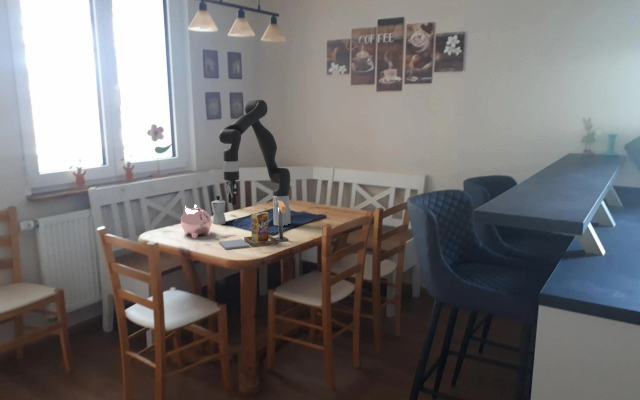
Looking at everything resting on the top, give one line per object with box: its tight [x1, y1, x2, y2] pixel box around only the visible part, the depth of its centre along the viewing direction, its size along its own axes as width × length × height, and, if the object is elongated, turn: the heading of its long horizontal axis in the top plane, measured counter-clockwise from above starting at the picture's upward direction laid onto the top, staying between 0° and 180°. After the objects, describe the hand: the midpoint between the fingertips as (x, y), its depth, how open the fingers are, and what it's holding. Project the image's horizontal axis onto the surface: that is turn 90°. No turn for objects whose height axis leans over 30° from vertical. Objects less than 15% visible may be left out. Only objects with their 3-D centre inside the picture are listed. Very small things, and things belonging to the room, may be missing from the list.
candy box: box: [251, 211, 269, 242], centre depth 258 cm, size 9×4×15 cm, turn 145°
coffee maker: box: [210, 195, 227, 225], centre depth 301 cm, size 15×9×18 cm, turn 161°
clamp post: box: [274, 207, 289, 243], centre depth 262 cm, size 6×6×18 cm
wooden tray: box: [243, 234, 279, 248], centre depth 259 cm, size 14×14×2 cm
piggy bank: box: [180, 204, 213, 239], centre depth 275 cm, size 15×18×16 cm
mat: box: [218, 238, 250, 251], centre depth 254 cm, size 12×14×1 cm
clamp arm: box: [277, 200, 286, 213], centre depth 252 cm, size 21×3×3 cm, turn 10°
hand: (232, 203), depth 251 cm, fingers open, 6 cm apart
